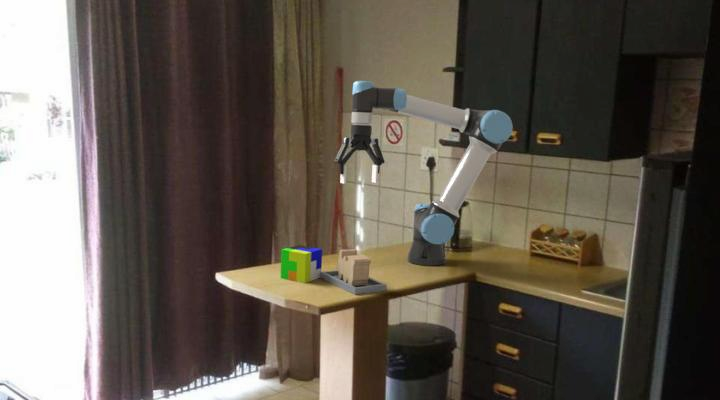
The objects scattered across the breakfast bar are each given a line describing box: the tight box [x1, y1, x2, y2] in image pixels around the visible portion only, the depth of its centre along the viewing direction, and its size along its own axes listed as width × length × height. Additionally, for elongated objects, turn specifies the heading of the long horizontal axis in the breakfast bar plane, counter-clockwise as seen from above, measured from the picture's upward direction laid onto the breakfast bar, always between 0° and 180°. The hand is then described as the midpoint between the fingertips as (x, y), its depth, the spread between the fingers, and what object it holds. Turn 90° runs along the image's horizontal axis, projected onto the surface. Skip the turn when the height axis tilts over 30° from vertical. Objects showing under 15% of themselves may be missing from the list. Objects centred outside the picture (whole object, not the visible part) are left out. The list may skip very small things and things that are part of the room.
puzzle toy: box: [280, 244, 323, 284], centre depth 218 cm, size 10×10×10 cm
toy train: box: [336, 248, 372, 286], centre depth 213 cm, size 6×17×10 cm, turn 21°
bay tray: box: [319, 269, 387, 295], centre depth 213 cm, size 23×12×2 cm, turn 32°
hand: (358, 183), depth 232 cm, fingers open, 13 cm apart
